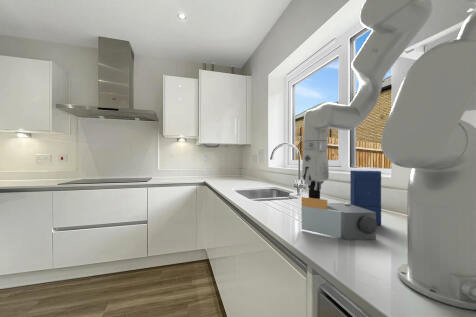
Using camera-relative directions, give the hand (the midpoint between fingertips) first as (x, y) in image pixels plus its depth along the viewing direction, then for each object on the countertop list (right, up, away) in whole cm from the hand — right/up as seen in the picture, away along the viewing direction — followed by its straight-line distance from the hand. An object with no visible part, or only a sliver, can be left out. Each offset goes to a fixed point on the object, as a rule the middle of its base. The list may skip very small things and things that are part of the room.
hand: (314, 201), depth 68 cm
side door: (+1, -9, -3) cm, 10 cm away
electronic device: (+23, -11, +9) cm, 27 cm away
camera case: (+11, -10, 0) cm, 15 cm away
